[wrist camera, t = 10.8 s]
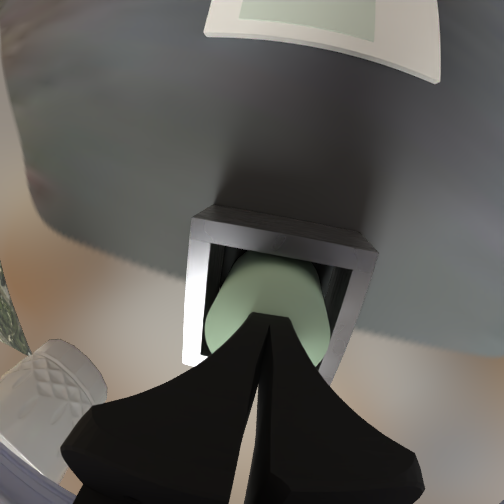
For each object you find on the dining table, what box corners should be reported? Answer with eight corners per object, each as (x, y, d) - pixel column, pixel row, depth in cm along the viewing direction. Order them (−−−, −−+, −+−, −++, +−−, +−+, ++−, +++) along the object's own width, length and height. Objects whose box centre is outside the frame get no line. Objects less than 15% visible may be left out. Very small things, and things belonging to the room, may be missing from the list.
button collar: (359, 232, 12) (378, 252, 10) (323, 352, 15) (327, 390, 12) (212, 204, 13) (191, 217, 10) (200, 329, 15) (182, 363, 12)
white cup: (30, 342, 19) (-37, 405, 9) (68, 319, 17) (-23, 404, 7) (83, 408, 20) (32, 479, 11) (133, 401, 18) (75, 499, 9)
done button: (330, 254, 12) (346, 294, 9) (307, 335, 14) (310, 390, 10) (233, 236, 13) (210, 269, 9) (222, 319, 14) (201, 370, 10)
